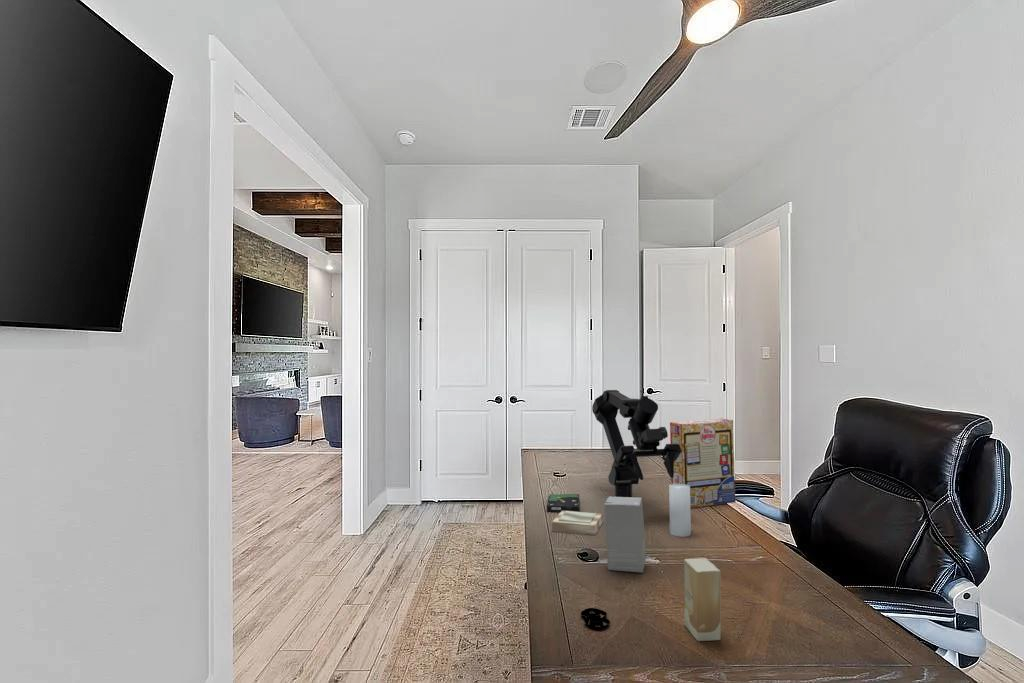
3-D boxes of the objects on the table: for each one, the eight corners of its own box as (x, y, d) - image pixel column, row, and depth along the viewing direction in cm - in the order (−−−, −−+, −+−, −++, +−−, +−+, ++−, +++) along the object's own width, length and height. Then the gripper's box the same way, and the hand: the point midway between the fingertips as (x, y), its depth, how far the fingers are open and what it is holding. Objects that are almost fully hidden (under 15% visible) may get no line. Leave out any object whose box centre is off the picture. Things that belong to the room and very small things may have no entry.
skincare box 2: (683, 625, 106) (682, 557, 106) (706, 623, 106) (705, 556, 106) (697, 642, 99) (696, 571, 99) (722, 641, 100) (721, 570, 100)
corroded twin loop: (585, 633, 103) (585, 627, 104) (578, 613, 111) (578, 607, 112) (613, 632, 104) (613, 626, 104) (604, 612, 112) (604, 606, 112)
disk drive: (580, 515, 178) (579, 501, 193) (580, 506, 178) (579, 493, 193) (546, 514, 179) (548, 501, 194) (546, 505, 179) (548, 493, 194)
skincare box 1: (646, 564, 136) (644, 496, 136) (642, 575, 129) (641, 504, 129) (610, 560, 138) (609, 494, 139) (604, 571, 132) (603, 501, 132)
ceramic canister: (670, 529, 161) (669, 483, 161) (690, 531, 159) (690, 484, 159) (669, 535, 156) (668, 487, 156) (690, 537, 154) (689, 488, 154)
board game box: (723, 498, 193) (722, 418, 194) (736, 503, 187) (734, 420, 188) (670, 504, 187) (669, 421, 187) (682, 509, 181) (680, 423, 181)
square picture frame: (562, 519, 172) (562, 509, 172) (602, 522, 168) (602, 512, 168) (552, 531, 161) (552, 520, 161) (594, 535, 157) (594, 524, 157)
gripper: (619, 418, 168) (634, 464, 157) (678, 416, 172) (697, 461, 161) (610, 440, 176) (623, 486, 165) (667, 438, 179) (684, 482, 169)
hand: (657, 478), depth 165 cm, fingers open, 9 cm apart
